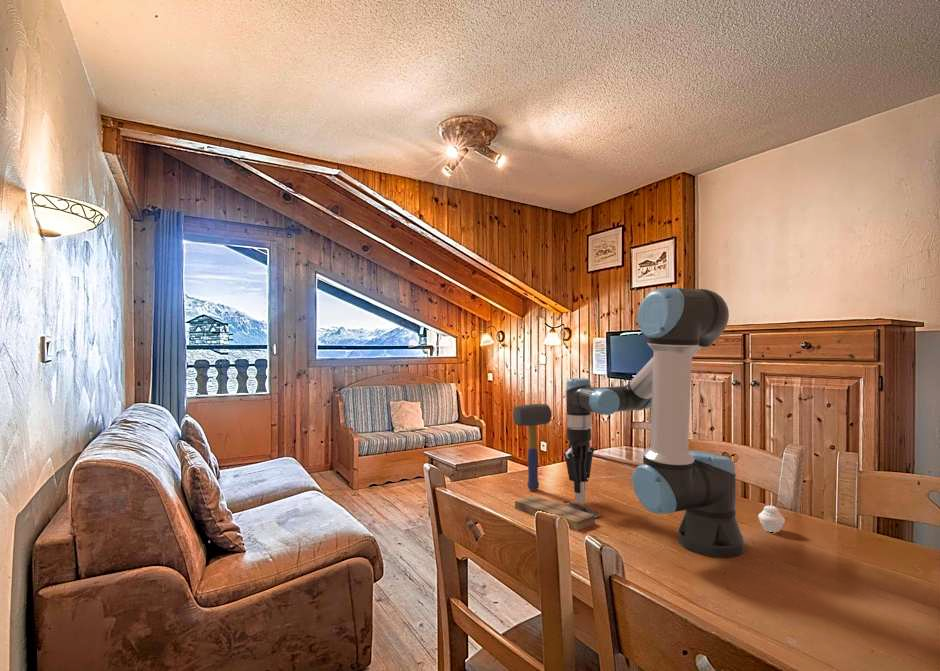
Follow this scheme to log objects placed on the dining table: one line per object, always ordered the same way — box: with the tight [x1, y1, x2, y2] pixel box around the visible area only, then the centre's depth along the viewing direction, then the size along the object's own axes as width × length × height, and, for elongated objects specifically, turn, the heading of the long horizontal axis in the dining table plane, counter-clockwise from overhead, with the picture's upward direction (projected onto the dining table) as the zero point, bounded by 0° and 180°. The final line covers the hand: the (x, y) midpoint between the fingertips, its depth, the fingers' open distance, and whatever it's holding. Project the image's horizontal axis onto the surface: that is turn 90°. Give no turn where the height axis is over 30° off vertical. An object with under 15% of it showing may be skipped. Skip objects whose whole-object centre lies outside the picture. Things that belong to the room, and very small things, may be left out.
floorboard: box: [514, 495, 596, 532], centre depth 147 cm, size 24×8×2 cm, turn 40°
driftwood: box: [545, 498, 602, 519], centre depth 153 cm, size 21×7×2 cm, turn 30°
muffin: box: [758, 505, 786, 533], centre depth 134 cm, size 6×6×7 cm
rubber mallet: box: [512, 403, 553, 492], centre depth 173 cm, size 12×8×30 cm, turn 111°
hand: (579, 502), depth 156 cm, fingers closed
